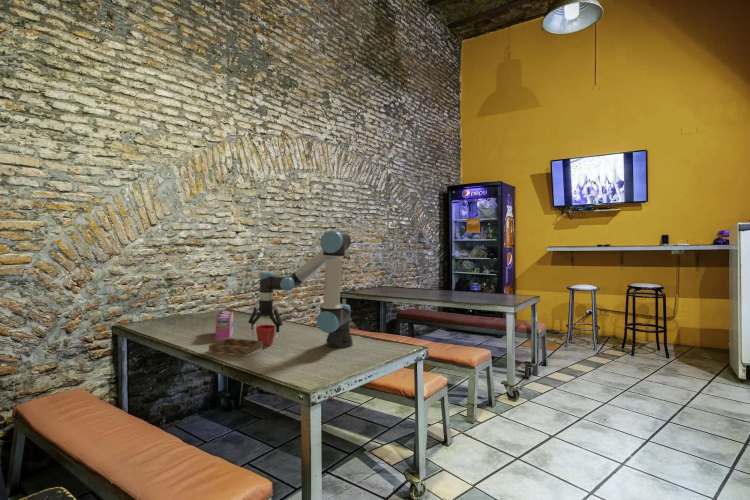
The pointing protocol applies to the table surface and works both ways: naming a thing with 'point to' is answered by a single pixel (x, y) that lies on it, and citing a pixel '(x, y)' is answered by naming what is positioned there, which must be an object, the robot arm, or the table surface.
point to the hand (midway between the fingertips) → (265, 336)
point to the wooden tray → (236, 347)
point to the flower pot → (265, 333)
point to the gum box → (224, 325)
